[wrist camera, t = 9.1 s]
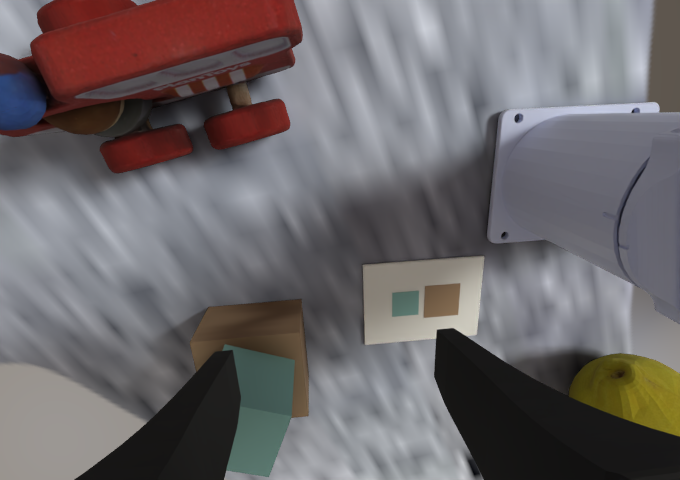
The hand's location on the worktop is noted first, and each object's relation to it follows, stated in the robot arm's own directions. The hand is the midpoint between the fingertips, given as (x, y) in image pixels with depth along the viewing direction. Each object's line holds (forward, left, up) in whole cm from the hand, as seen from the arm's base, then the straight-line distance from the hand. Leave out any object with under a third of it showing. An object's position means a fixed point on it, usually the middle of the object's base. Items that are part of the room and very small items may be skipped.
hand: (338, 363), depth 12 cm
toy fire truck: (+7, -10, -11) cm, 16 cm away
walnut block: (+5, +6, -11) cm, 13 cm away
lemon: (-20, +12, -11) cm, 26 cm away
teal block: (+5, +6, -7) cm, 10 cm away
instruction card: (-6, +4, -10) cm, 13 cm away
